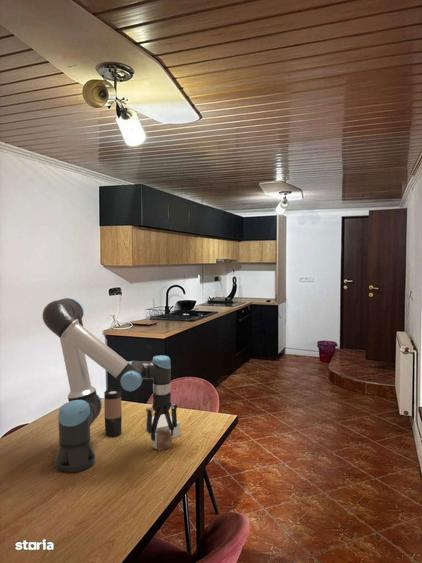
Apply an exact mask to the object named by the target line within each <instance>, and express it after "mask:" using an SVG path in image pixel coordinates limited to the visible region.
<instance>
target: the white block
mask: <svg viewBox="0 0 422 563" xmlns="http://www.w3.org/2000/svg"><path fill="white" fill-rule="evenodd" d="M170 418H171V422H172V415H170ZM153 419H154V415H152V423H153ZM167 428H169V427H168V424H167V420H166V417H165V414H162V415H160V418H159V421H158V424H157V428H156V431H159V430H164V429H166V430H167ZM145 430H146V432H147V417H145ZM148 434H149V435H150V436H151V433H148ZM180 436H181V422H180V421H178V420H177V427H175V428H174V430H173V436H172V439H174V438H177V437H180Z"/></svg>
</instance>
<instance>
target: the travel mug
mask: <svg viewBox="0 0 422 563" xmlns="http://www.w3.org/2000/svg"><path fill="white" fill-rule="evenodd" d="M103 394H104V396H103V397H104V398H103V399H104V402H103V403H104V426H105V427H104V430H105V431H104V432H105V433H104V434H105V436H106V437H107V438H116V437H119V436H121V435H122V422H123V421H122V419H123V418H122V413H123V412H122V390H121V389H119V388H117V389H116V388H110V389H106V390H105V391H104V392H103Z"/></svg>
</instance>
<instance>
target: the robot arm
mask: <svg viewBox="0 0 422 563" xmlns="http://www.w3.org/2000/svg"><path fill="white" fill-rule="evenodd" d="M41 315H42V321H43V323H44V324H45V326H46V328H48V329H49V331H51V332H52V333H53V334H55V335H56V336H58V337H59V341H60V346H61V350H62V355H63V356H62V357H63V361H64V365H65V370H66V376H67V380H68V385H69V390H70V392H69V393H68V395H67V400H68V402H66V403H65V402H64V403H63V404H62V405H61V406H60V407H59V409H58V415H57V419H58V442H59V443H58V444H59V445H58V449H57V453H56V457H55V458H54V468H55V470H56V471H57V472H59V473H65V474H72V473H78V472H83V471H86V470H87V469H89V468H91V467H92V466H93V465H94V464H95V463H96V453H95V450H94V448H93V445H92V442H91V426H92V424H93V423H94V422H95V420H96V419H97V418H98V417H99V415H100V413H101V410H102V408H103V406H102V399H101V397H100V396H99V395H98V394H97V389H96V388H95V387H94V386H92V385H91V384H92V383H91V378H90V373H89V367H88V362H87V359H86V356H87V357H88V358H89V359H91V360H92V361H94V362H95V363H96V364H97V365H98V366H99V367H101V368H102V369H104V370H105V371H106V372H108V373H109V374H111V376H112V377H114V378H115V379H116V380H117V381H119V382H120V386H121V387H122V389H123V390H125V391H127V392H133V391H135V390H137V389H138V388H139V387H141V385H142V383H143V380H152V392H153V394H152V405H151V406H152V407H150V408H146V410H145V411H146V418H147V431H146V432H148V434H149V433H151V435H150V440H151V441H152V447H153V448H154V449H155V450H157V433H156V428H157V424H158V421H159V418H160V415H162V414H165V417H166V420H167V424H168V427H169V428H167V431H168V432H169V433H171V434H172V436H173V430H174V428H175V427H177V421H178V417H177V410H178V405H177V404H176V403H175V402H173V403H172V402H171V401H172V394H171V388H172V387H171V386H172V385H171V382H172V381H171V378H172V376H171V373H172V372H171V370H172V366H171V358H170V357H169V356H168V355H155V356H153V357H152V360H149V361H148V360H147V361H146V360H143V361H140V360H131V361H127V360H126V359H124V358H123V357H122V356H121V355H119V354H118V353H117V352H116V351H115V350H113V349H112V348H111V347H109V346H108V345H107V344H105V342H103V341H102V340H100V339H99V338H98V337H97V336H96V335H94V334H93V333H92V332H90V331H89V330H88V329H87V328H86V327H84V324H83V317H84V307H83V305H82V303H80V301H78V300H77V299H75V298H60V299H57V300H53V301H51V302H49V303H48V304H46V306H45V307H44V309H43V311H42V314H41ZM170 410H171V415H170ZM153 412H154V414H153ZM152 416H154V419H153V423H152ZM170 416H171V417H172V422H171V418H170Z"/></svg>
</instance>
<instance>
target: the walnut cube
mask: <svg viewBox="0 0 422 563" xmlns="http://www.w3.org/2000/svg"><path fill="white" fill-rule="evenodd" d="M156 433H157V449H156V450H157V451H158V452H161V451H165V450H168V449H172V448H173V446H172V442H173V441H172V440H173V438H172V434H171V433H169V432H168V431H167V430H166V429H164V430H159V431H156Z"/></svg>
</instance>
